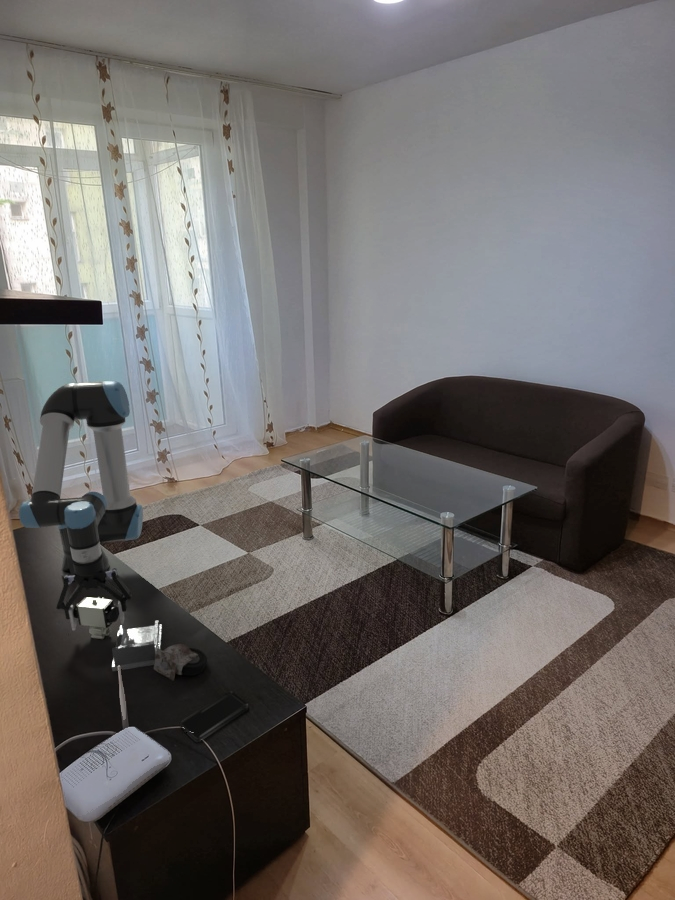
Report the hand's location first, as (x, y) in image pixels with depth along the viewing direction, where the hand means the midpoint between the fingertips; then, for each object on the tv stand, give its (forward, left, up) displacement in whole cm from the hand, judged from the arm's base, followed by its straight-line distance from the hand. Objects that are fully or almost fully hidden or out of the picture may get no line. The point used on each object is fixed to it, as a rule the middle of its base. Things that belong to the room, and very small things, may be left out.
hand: (98, 624), depth 176 cm
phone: (+40, +31, -4) cm, 51 cm away
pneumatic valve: (0, 0, -4) cm, 4 cm away
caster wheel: (+21, +24, -4) cm, 32 cm away
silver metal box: (+9, +11, -4) cm, 15 cm away
